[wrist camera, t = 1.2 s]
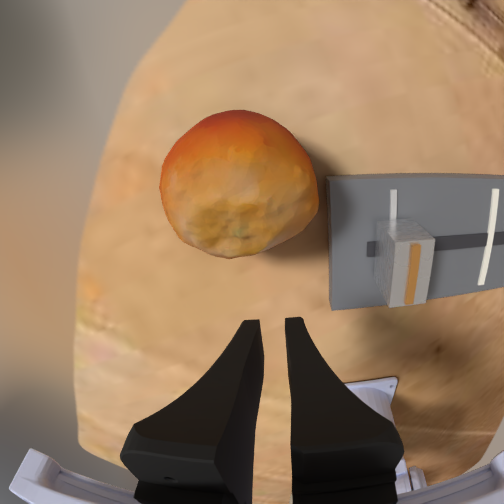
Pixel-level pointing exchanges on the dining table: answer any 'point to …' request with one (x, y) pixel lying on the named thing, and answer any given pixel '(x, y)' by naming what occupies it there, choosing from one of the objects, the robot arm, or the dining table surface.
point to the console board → (429, 218)
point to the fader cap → (403, 261)
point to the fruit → (238, 185)
